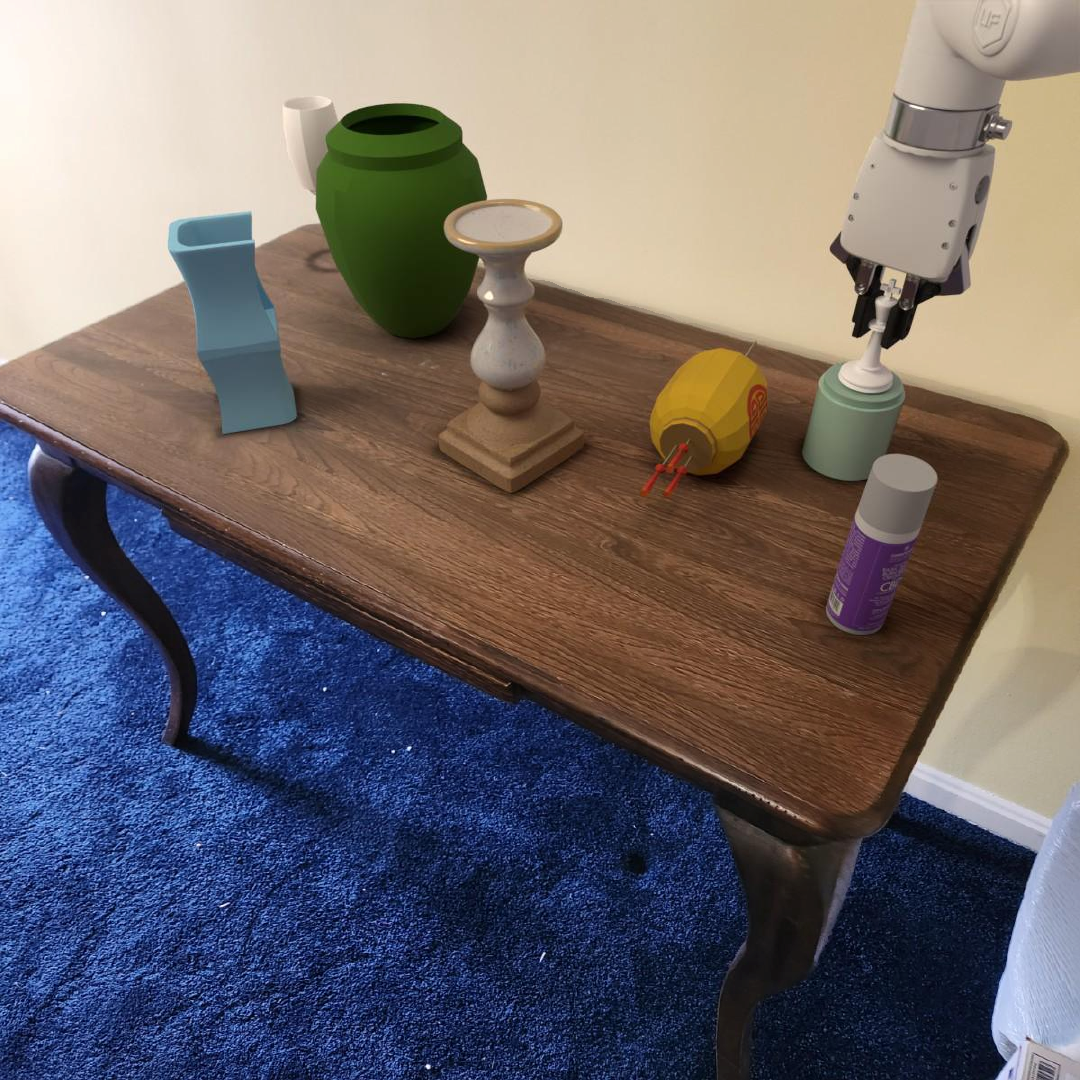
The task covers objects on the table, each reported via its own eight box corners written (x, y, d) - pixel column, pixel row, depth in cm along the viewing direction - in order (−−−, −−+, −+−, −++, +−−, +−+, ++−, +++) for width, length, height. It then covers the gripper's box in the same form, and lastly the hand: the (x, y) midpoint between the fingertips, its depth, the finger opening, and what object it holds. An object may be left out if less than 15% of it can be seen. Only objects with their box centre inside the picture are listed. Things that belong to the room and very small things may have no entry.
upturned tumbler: (855, 428, 91) (877, 353, 85) (898, 473, 86) (925, 396, 79) (787, 441, 90) (805, 365, 84) (826, 487, 84) (848, 410, 78)
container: (871, 644, 69) (926, 501, 59) (816, 618, 71) (860, 476, 61) (892, 610, 72) (948, 468, 62) (838, 586, 74) (885, 444, 64)
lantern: (700, 452, 70) (797, 298, 90) (594, 443, 75) (708, 299, 95) (712, 548, 76) (801, 384, 96) (613, 534, 81) (717, 381, 100)
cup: (366, 250, 125) (343, 95, 111) (351, 272, 120) (326, 112, 106) (318, 247, 126) (289, 93, 112) (302, 269, 121) (269, 110, 107)
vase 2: (298, 422, 93) (255, 242, 79) (222, 434, 91) (166, 253, 78) (292, 384, 98) (251, 210, 85) (221, 395, 97) (168, 220, 83)
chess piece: (878, 399, 79) (909, 298, 72) (828, 381, 81) (854, 281, 74) (900, 377, 81) (932, 278, 75) (852, 360, 84) (878, 262, 77)
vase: (331, 299, 114) (294, 100, 97) (475, 280, 118) (463, 86, 101) (346, 374, 100) (306, 157, 84) (509, 350, 104) (501, 138, 87)
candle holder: (511, 495, 83) (501, 260, 67) (437, 449, 89) (411, 221, 73) (586, 446, 89) (594, 219, 73) (512, 406, 95) (504, 186, 79)
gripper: (1063, 133, 64) (980, 353, 76) (867, 92, 72) (820, 296, 85) (1023, 159, 60) (942, 386, 72) (820, 112, 68) (778, 323, 81)
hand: (877, 336), depth 78 cm, fingers closed on chess piece
